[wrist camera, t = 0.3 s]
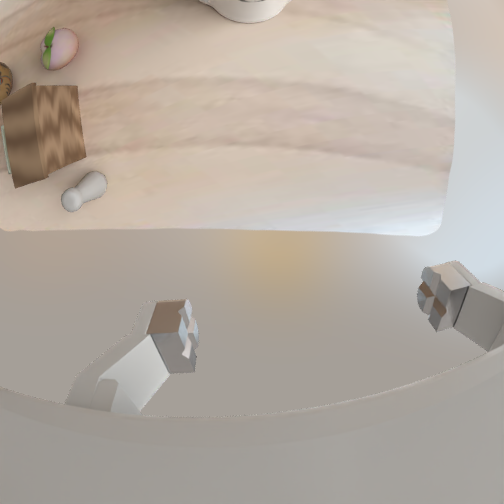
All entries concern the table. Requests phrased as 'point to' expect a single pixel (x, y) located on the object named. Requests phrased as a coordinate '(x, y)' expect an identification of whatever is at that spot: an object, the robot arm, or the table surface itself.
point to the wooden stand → (42, 131)
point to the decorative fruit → (58, 48)
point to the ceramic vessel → (5, 81)
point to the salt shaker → (84, 191)
